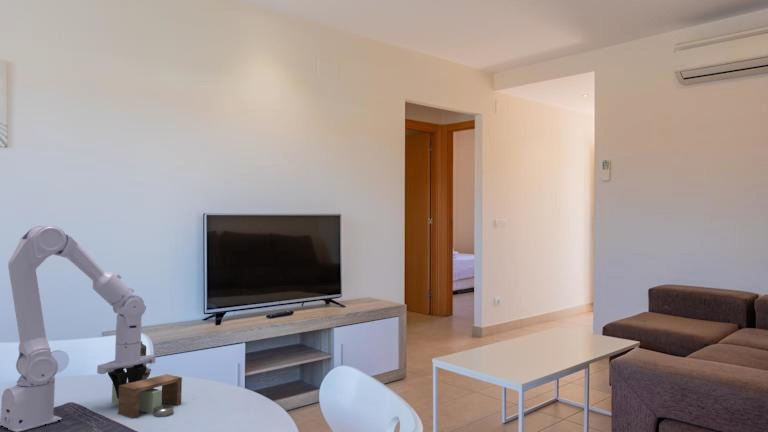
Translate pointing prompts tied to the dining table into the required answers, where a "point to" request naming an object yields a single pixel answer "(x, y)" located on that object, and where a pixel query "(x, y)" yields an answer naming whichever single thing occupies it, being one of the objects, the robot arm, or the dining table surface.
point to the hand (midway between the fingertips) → (126, 397)
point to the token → (163, 411)
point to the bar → (144, 399)
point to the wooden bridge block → (130, 391)
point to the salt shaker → (147, 373)
